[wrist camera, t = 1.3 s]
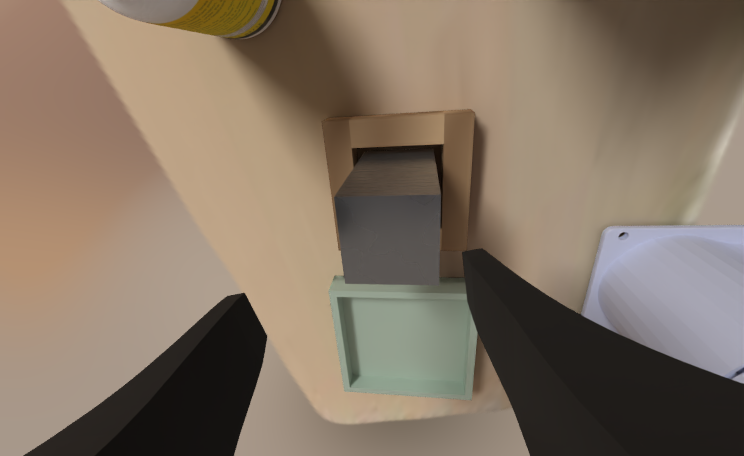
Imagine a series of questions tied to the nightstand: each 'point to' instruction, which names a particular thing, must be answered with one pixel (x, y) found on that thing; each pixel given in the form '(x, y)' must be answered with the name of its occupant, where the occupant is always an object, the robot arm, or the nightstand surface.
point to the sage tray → (405, 338)
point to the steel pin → (391, 218)
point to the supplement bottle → (202, 15)
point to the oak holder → (405, 131)
